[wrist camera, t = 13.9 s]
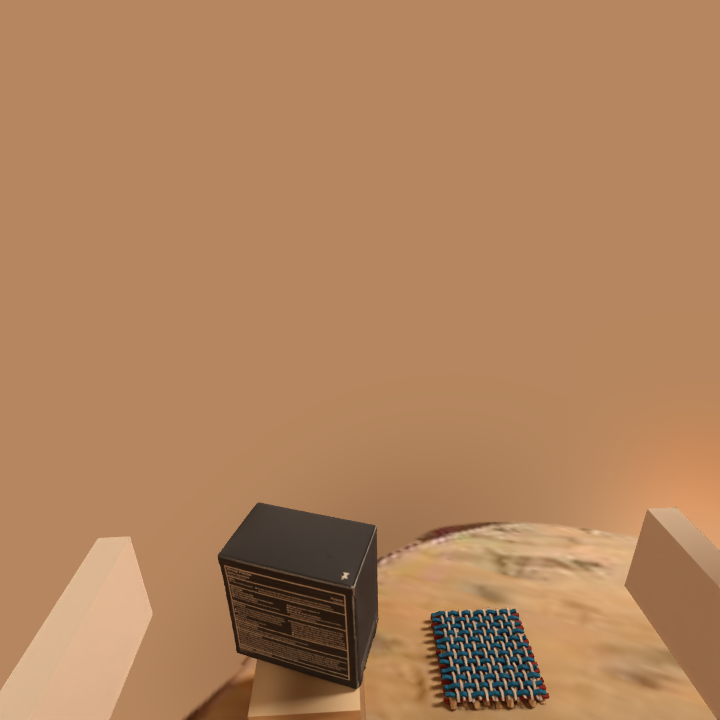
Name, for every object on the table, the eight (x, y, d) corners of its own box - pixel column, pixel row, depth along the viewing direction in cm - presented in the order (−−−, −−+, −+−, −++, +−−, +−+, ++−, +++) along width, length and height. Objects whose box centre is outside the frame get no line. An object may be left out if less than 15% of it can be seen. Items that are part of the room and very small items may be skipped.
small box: (381, 615, 39) (381, 521, 34) (360, 693, 33) (356, 592, 29) (271, 586, 42) (258, 496, 37) (233, 654, 36) (213, 557, 32)
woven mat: (552, 711, 44) (555, 698, 44) (445, 715, 44) (446, 702, 43) (516, 614, 54) (518, 603, 53) (428, 617, 54) (429, 605, 53)
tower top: (356, 621, 46) (354, 570, 43) (362, 765, 35) (360, 710, 32) (278, 625, 45) (271, 575, 43) (258, 771, 34) (247, 716, 32)
